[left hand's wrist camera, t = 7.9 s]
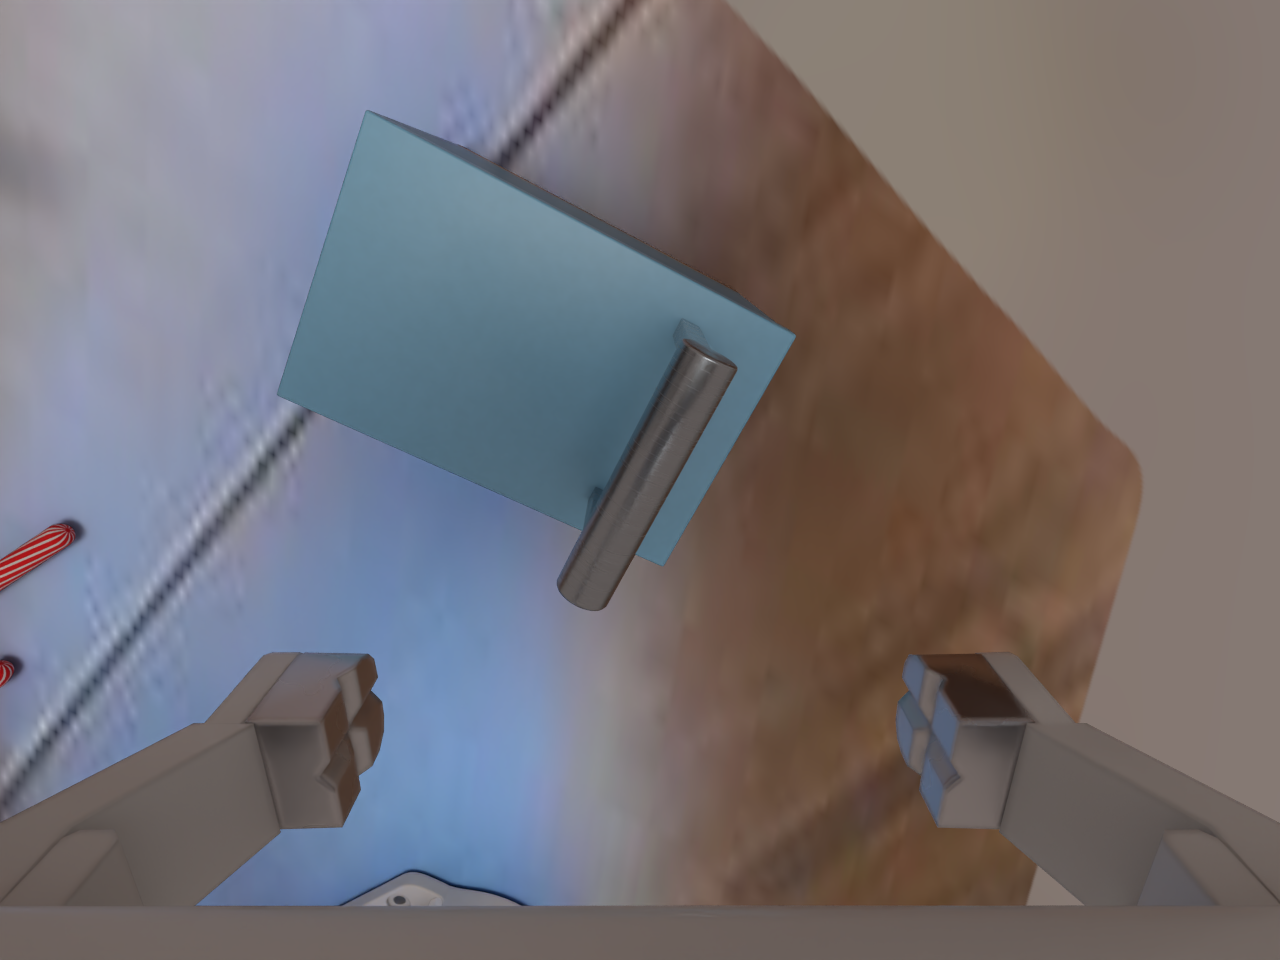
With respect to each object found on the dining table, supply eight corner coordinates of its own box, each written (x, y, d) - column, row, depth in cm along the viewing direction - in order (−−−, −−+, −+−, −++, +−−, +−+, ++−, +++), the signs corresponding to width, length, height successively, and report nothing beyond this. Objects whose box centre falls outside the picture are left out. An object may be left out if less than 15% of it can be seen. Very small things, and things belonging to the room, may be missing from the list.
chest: (736, 291, 34) (777, 322, 24) (647, 457, 38) (650, 547, 27) (462, 146, 32) (380, 113, 22) (392, 337, 35) (292, 386, 25)
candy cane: (147, 592, 41) (130, 605, 39) (-23, 701, 43) (-44, 716, 42) (67, 513, 39) (46, 524, 37) (-104, 632, 41) (-130, 646, 40)
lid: (790, 329, 24) (858, 382, 17) (662, 553, 28) (671, 682, 20) (379, 114, 22) (240, 60, 14) (292, 387, 25) (139, 462, 17)
